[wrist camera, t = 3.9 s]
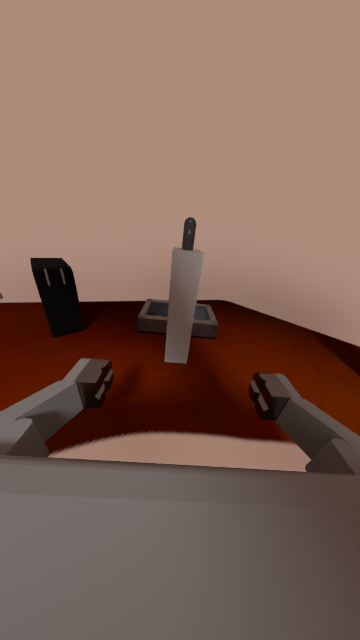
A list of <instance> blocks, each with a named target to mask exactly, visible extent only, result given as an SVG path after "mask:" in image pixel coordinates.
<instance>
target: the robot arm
mask: <svg viewBox="0 0 360 640" xmlns="http://www.w3.org/2000/svg"><path fill="white" fill-rule="evenodd" d="M2 298H3V296H2V295H1V293H0V299H2ZM111 367H112V361H110V360H100V359H89V358H82V359H80V360H79V361H78V362H77V364H76V365H75V366H74V367H73V368H72V369H71V371H70V372H69V373H68V374H67V375H66V377H65V378H64V379H63V380H62V381H58V382H56V383H54V384H52V385H50V386H48V387H46V388H44V389H42V390H41V391H39V392H37V393H35V394H33V395H31V396H29V397H27V398H25V399H24V400H22V401H20V402H18V403H16V404H14V405H12V406H10V407H8V408H7V409H5V410H3V411H1V412H0V640H360V436H358V435H357V434H355V433H354V432H352V431H351V430H349V429H348V428H346V427H345V426H344V425H342V424H341V423H339V422H338V421H336V420H335V419H333V418H332V417H330V416H329V415H327V414H326V413H325V412H323V411H322V410H320V409H319V408H317V407H316V406H314V405H313V404H311V403H310V402H309V401H307V400H306V399H302V398H301V396H300V395H299V394H298V392H297V391H296V390H295V389H294V387H293V386H292V385H291V383H290V382H289V381H288V379H287V378H286V377H285V376H284V375H283V374H275V373H273V374H272V373H259V372H256V373H254V375H253V379H254V380H253V381H252V382H250V384H249V396H250V398H251V400H252V401H253V402H254V403H255V407H254V408H255V410H256V412H257V414H258V417H259V419H262V420H272V421H275V422H276V423H277V424H278V425H279V426H280V427H281V428H282V429H283V430H284V431H285V432H286V434H287V435H288V436H289V437H290V438H291V439H292V440H293V441H294V442H295V443H296V444H297V445H298V446H299V447H300V448H301V449H302V450H303V451H304V452H305V453H306V454H307V455H308V457H309V458H310V459H311V461H310V462H309V463H308V464H307V465H306V467H305V469H306V471H307V472H296V471H278V470H260V469H243V468H242V469H241V468H226V467H208V466H189V465H173V464H172V465H171V464H155V463H137V462H119V461H101V460H84V459H65V458H48V456H49V450H48V448H47V446H46V445H45V443H44V442H45V441H46V440H47V439H49V438H50V437H51V436H52V435H53V434H54V433H56V432H57V431H58V430H59V429H60V428H61V427H63V426H64V425H65V424H66V423H67V422H68V421H70V420H71V419H72V418H73V417H74V416H75V415H77V414H78V413H79V412H80V411H81V410H82V409H83V408H101V406H102V404H103V402H104V400H105V398H106V392H107V391H108V390H109V389H110V387H111V385H112V382H113V371H112V370H111Z"/></svg>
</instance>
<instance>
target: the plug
mask: <svg viewBox="0 0 360 640" xmlns="http://www.w3.org/2000/svg"><path fill="white" fill-rule="evenodd" d="M195 229H196V221H195V219H194V218H191V217H189V218H187V219H186V220H185V223H184V233H183V243H182V248H176V247H175V248H174V249H173V252H172V266H171V281H170V293H169V307H168V321H167V335H166V348H165V362H173V363H185V364H187V357H188V351H189V344H190V338H191V331H192V325H193V319H194V312H195V306H196V299H197V293H198V286H199V280H200V274H201V267H202V260H203V254H204V253H203V252H201V251H200V250H194V249H193V245H194V238H195Z"/></svg>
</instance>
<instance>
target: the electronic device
mask: <svg viewBox="0 0 360 640" xmlns="http://www.w3.org/2000/svg"><path fill="white" fill-rule="evenodd" d="M31 266H32V272H33V275H34V279H35V282H36V285H37V288H38V292H39V295H40V298H41V301H42V304H43V307H44V311H45V314H46V317H47V320H48V323H49V326H50V330H51V333H52V335H53V337H55V336H59V335H64V334H68V333H72V332H77V331H81V330H84V325H83V320H82V315H81V310H80V305H79V300H78V295H77V290H76V285H75V280H74V275H73V272H72V269H71V267H70V266H68V264H67V263H66V262H65V261H64V260H63V259H62V258H31Z"/></svg>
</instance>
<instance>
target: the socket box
mask: <svg viewBox="0 0 360 640" xmlns="http://www.w3.org/2000/svg"><path fill="white" fill-rule="evenodd" d="M168 307H169V301H163V300H153V299H147V301H146V303H145V305H144V306H143V308H142V310H141V312H140V314H139V315H138V317H137V326H138V332H142V333H153V334H165V335H167V321H168ZM217 329H218V323H217V321H216V318H215V316H214V314H213V311H212V309H211V307H210V305H204V304H196V306H195V312H194V319H193V325H192V331H191V337H199V338H210V339H215V337H216V333H217Z"/></svg>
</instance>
